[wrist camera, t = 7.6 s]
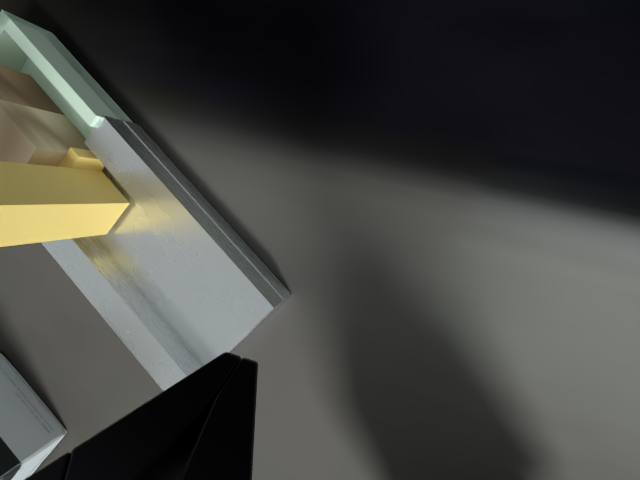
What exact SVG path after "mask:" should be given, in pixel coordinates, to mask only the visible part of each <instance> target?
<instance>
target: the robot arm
mask: <svg viewBox="0 0 640 480" xmlns="http://www.w3.org/2000/svg"><path fill="white" fill-rule="evenodd" d="M257 374H258V363H257V362H256V361H253V360H250V359H247V358H242V359H241V357H240V356H238V355H235V354H232V353H229V352H225V353H222V354H221V355H219V356H218V357H216V358H215V359H213V360H211V361H210V362H208V363H207V364H205V365H204V366H202V367H200V368H199V369H197V370H196V371H194V372H193V373H191V374H190V375H188V376H186V377H185V378H183V379H182V380H180V381H179V382H177V383H175V384H174V385H172V386H171V387H169V388H168V389H166V390H164V391H163V392H161V393H160V394H158V395H157V396H155V397H154V398H152V399H150V400H149V401H147V402H146V403H144V404H143V405H141V406H139V407H138V408H136V409H135V410H133V411H132V412H130V413H129V414H127V415H125V416H124V417H122V418H121V419H119V420H118V421H116V422H114V423H113V424H111V425H110V426H108V427H107V428H105V429H103V430H102V431H100V432H99V433H97V434H96V435H94V436H93V437H91V438H89V439H88V440H86V441H85V442H83V443H82V444H80V445H78V446H77V447H75V448H74V449H73V450H72V452H71V453H70V452H67V453H66V454H64V455H62V456H61V457H59V458H58V459H56V460H55V461H53V462H52V463H50V464H48V465H47V466H45V467H44V468H42V469H40V470H39V471H37V472H36V473H34V474H32V475H31V476H29V477H27V478H26V479H24V480H252V466H253V447H254V429H255V410H256V392H257Z"/></svg>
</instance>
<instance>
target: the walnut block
mask: <svg viewBox="0 0 640 480" xmlns="http://www.w3.org/2000/svg"><path fill="white" fill-rule="evenodd" d="M0 100H4V101H8V102H12V103H16V104H20V105H24V106H29V107H33V108H37V109H41V110H45V111H49V112H53V113H57V114H62V115H65V114H64V113H63V112H62V111H61V110H60V108H59V107H58V106H57V105H56V104H55V103H54V102H53V100H52V99H51V98H50V97H49V96H48V95H47V94H46V92H45V91H44V90H43V89H42V88H41V87H40V86H39V84H38V83H37V82H36V81H35V80H34V79H33V78H32V76H31V75H28V74H25V73H22V72H19V71H16V70H12V69H9V68H6V67H3V66H0Z"/></svg>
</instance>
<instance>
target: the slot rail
mask: <svg viewBox="0 0 640 480" xmlns="http://www.w3.org/2000/svg"><path fill="white" fill-rule="evenodd" d="M84 143H85V144H86V145H87V147H88V148H89V149H90V150H91V151H92V152H93V153H94V155H95V156H96V157H97V158H98V159H99V160H100V161H101V163H102V164H103V165H104V168H103V169H102V172H103V173H104V174H105V175H106V176H107V177H108V179H109V180H110V181H111V182H112V183H113V184H114V185H115V187H116V188H117V189H118V190H119V191H120V192H121V194H122V195H123V196H124V197H125V198H126V199H127V200H128V202H129V203H130V204H129V205H128V206H127V208H126V209H125V210H124V212H123V213H122V214H121V216H120V217H119V218H118V220H117V221H116V222H115V224H114V225H113V226H112V228H111V229H110V230H109V232H108V233H107V234H105V235H97V236H89V237H80V238H72V239H63V240H55V241H46V242H41V243H42V244H43V245H44V247H45V248H46V249H47V250H48V251H49V253H50V254H51V255H52V256H53V258H54V259H55V260H56V261H57V262H58V264H59V265H60V266H61V267H62V268H63V270H64V271H65V272H66V273H67V275H68V276H69V277H70V278H71V279H72V281H73V282H74V283H75V284H76V285H77V287H78V288H79V289H80V290H81V292H82V293H83V294H84V295H85V296H86V298H87V299H88V300H89V301H90V302H91V304H92V305H93V306H94V307H95V309H96V310H97V311H98V312H99V313H100V315H101V316H102V317H103V318H104V319H105V321H106V322H107V323H108V324H109V326H110V327H111V328H112V329H113V330H114V332H115V333H116V334H117V335H118V336H119V338H120V339H121V340H122V341H123V343H124V344H125V345H126V346H127V347H128V349H129V350H130V351H131V352H132V353H133V355H134V356H135V357H136V358H137V360H138V361H139V362H140V363H141V364H142V366H143V367H144V368H145V369H146V370H147V372H148V373H149V374H150V375H151V377H152V378H153V379H154V380H155V381H156V383H157V384H158V385H159V386H160V387H161V389H162V390H163V391H164V390H166V389H168V388H169V387H171V386H172V385H174V384H175V383H177V382H179V381H180V380H182V379H183V378H185V377H186V376H188V375H190V374H191V373H193V372H194V371H196V370H197V369H199V368H200V367H202V366H204V365H205V364H207V363H208V362H210V361H211V360H213V359H215V358H216V357H218V356H219V355H221V354H222V353H225V352H229V353H230V352H231V351H232V350H233V349H234V348H235V347H236V346H237V345H238V344H239V343H240V342H241V341H242V340H243V339H244V338H245V337H247V336H248V335H249V334H250V333H251V332H252V331H253V330H254V329H255V328H256V327H257V326H258V325H259V324H260V323H261V322H262V321H263V320H264V319H265V318H267V317H268V316H269V315H270V314H271V313H272V312H273V311H274V310H275V309H276V308H277V307H278V306H279V305H280V304H281V303H282V302H283V301H284V300H285V299H287V298H288V297H289V296H290V295H291V293H290V292H289V291H288V290H287V288H286V287H285V286H284V285H283V284H282V283H281V282H280V281H279V280H278V278H277V277H276V276H275V275H274V274H273V273H272V272H271V271H270V270H269V268H268V267H267V266H266V265H265V264H264V263H263V262H262V261H261V260H260V259H259V257H258V256H257V255H256V254H255V253H254V252H253V251H252V250H251V249H250V247H249V246H248V245H247V244H246V243H245V242H244V241H243V240H242V239H241V237H240V236H239V235H238V234H237V233H236V232H235V231H234V230H233V229H232V227H231V226H230V225H229V224H228V223H227V222H226V221H225V220H224V219H223V218H222V216H221V215H220V214H219V213H218V212H217V211H216V210H215V209H214V208H213V206H212V205H211V204H210V203H209V202H208V201H207V200H206V199H205V198H204V196H203V195H202V194H201V193H200V192H199V191H198V190H197V189H196V188H195V186H194V185H193V184H192V183H191V182H190V181H189V180H188V179H187V178H186V177H185V175H184V174H183V173H182V172H181V171H180V170H179V169H178V168H177V167H176V165H175V164H174V163H173V162H172V161H171V160H170V159H169V158H168V157H167V155H166V154H165V153H164V152H163V151H162V150H161V149H160V148H159V147H158V145H157V144H156V143H155V142H154V141H153V140H152V139H151V138H150V137H149V136H148V134H147V133H146V132H145V131H144V130H143V129H142V128H141V127H140V126H139V124H136V123H132V122H128V121H125V120H123V121H122V120H119V119H115V118H111V117H108V116H104V115H102V116H101V117H100V119H99V120H98V122H97V123H96V125H95V127H94V128H93V130H92V131H91V133H90V134H89V136H88V137H87V139H86V141H85V142H84Z"/></svg>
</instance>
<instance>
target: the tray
mask: <svg viewBox="0 0 640 480" xmlns="http://www.w3.org/2000/svg"><path fill="white" fill-rule="evenodd" d="M0 66H3V67H6V68H9V69H12V70H16V71H19V72H22V73H25V74H28V75H31V76H32V78H33V79H34V80H35V81H36V82H37V83H38V84H39V86H40V87H41V88H42V89H43V90H44V91H45V92H46V94H47V95H48V96H49V97H50V98H51V99H52V100H53V102H54V103H55V104H56V105H57V106H58V107H59V108H60V110H61V111H62V112H63V113H64V114H65V115H66V116H67V118H68V119H69V120H70V121H71V122H72V123H73V124H74V126H75V127H76V128H77V129H78V130H79V131H80V132H81V134H82V135H83V136H84V137H85V138H86V139H87V137H88V136H89V134H90V133H91V131H92V130H93V128H94V127H95V125H96V123H97V122H98V120H99V119H100V117H101V116H102V115H104V116H108V117H111V118H115V119H119V120H122V121H123V120H125V121H128V122H132V121H131V120H130V118H129V117H128V116H127V115H126V114H125V113H124V112H123V111H122V110H121V108H120V107H119V106H118V105H117V104H116V103H115V102H114V101H113V100H112V98H111V97H110V96H109V95H108V94H107V93H106V92H105V91H104V90H103V89H102V87H101V86H100V85H99V84H98V83H97V82H96V81H95V80H94V79H93V77H92V76H91V75H90V74H89V73H88V72H87V71H86V70H85V69H84V67H83V66H82V65H81V64H80V63H79V62H78V61H77V60H76V59H75V57H74V56H73V55H72V54H71V53H70V52H69V51H68V50H67V49H66V47H65V46H64V45H63V44H62V43H61V42H60V41H59V40H58V39H57V37H56V36H55V35H54V34H53V33H51V32H49V31H47V30H45V29H43V28H41V27H38V26H36V25H34V24H32V23H30V22H28V21H26V20H23V19H21V18H19V17H17V16H15V15H13V14H11V13H8V12H6V11H4V10H1V12H0ZM132 123H133V122H132Z"/></svg>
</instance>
